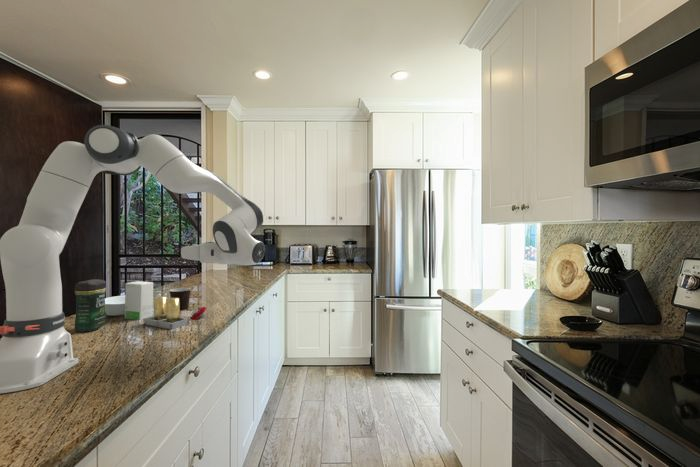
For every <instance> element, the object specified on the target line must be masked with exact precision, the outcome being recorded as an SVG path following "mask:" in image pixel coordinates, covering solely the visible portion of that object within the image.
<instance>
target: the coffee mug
mask: <svg viewBox="0 0 700 467" xmlns="http://www.w3.org/2000/svg"><path fill="white" fill-rule="evenodd" d="M191 290H192V289H191V288H190V287H181V288H180V287H179V288H178V287H177V288H172V289H170V290H169V298H179V304H180V311H188V310H189V307H190V300H191V298H190V297H191Z"/></svg>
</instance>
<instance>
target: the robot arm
mask: <svg viewBox="0 0 700 467" xmlns="http://www.w3.org/2000/svg"><path fill="white" fill-rule="evenodd" d="M141 168H144V169H145V170H146V171H147V172H149V173H150V174H151V175H152V176H153V177H154V178H155V180H157V181H158V182H159V184H161V185H162V186H163V187H164V188H165V189H167V190H168V191H170V192H172V193H175V194H182V195H183V194H185V195H186V194H193V193H209V194H211V195H213V196H215V197H216V198H218V199H219V200H220V201H221V202H223V203H224V204H225V205H226V206H227V207H229V208H230V209H231V211H230V212H227V213H226V214H225V215H223V216H222V217H220V218H219V219H217V220H216V221H215V222H214V223H213V224H212V237H213V239H214V240H211V241H207V242H201V243H200V244H196V245H187V246H183V247H181V248H180V257H181V258H182V259H184V260H191V261H199V262H200V263H201V264H202V263H203V264H209V263H210V264H217V265H226V266H227V265H230V266H231V265H236V266H254V265H258V264H259V263H260V262H261V261H262V259H264V256H265V253H266V246H265V244H264V242H262V241H261V240H257V239H256V238H254V236H252V235H251V234H252V233H253V232H255V231H256V230H258V229H259V228H261V227H262V226H263V223H264V215H263V211H262V209H261V208H260V207H259V206H258V205H257V204H256V203H254V202H253V201H251V200H249V199H248V198H246V197H245V196H243V195H242V194H240V192H238V191H237V190H236V189H235V188H234V187H232V186H231V185H230V184H229V183H227V182H226V181H225V179H222V177H220V176H219V175H218V174H216V173H215V172H213V171H212V170H209V169H206V168H203V167H201V166H199V165H197V164H196V163H194V161H191V160H190V159H189V158H188V157H187V156H186V155H185V154H184V153H183V152H182V151H181V150H180V149H178V147H176V146H175V145H174V144H173V143H171V141H169V140H167V139H166V138H165V137H164V136H162V135H159V134H154V133H153V134H152V133H151V134H148V135H145V136H144V137H142V138H139V139H138V137H137V136H136V135H135V134H134V133H132V132H128V131H125V130H123V129H121V128H119V127H115V126H112V125H108V124H98V125H94V126H92V127H91V128H89V130H88V131H87V132H86V133H85V136H84V142H83V143H81V142H78V141H74V140H73V141H70V140H67V141H62V142H61V143H60V144H58V145H57V146H56V148H55V149H54V150H53V151H52V152H51V154H50V155H49V157H48V158H47V160H46V161H45V162H44V165H42V168H41V170H40V171H39V174H38V176H37V178H36V180H35V182H34V183H33V186H32V188H31V190H30V191H29V194H28V196H27V197H26V203H25V206H24V209H23V213H22V215H21V218H20V220H19V223H18V225H17V226H14V227H11V228H10V229H8V230H7V231H5V232H4V234H3V235H2V236H1V237H0V266H1V271H2V276H3V281H4V287H5V300H6V301H5V306H6V310H5V311H6V314H5V316H6V319H5V320H4V321H3V322H4V323H3V325H0V335H1V336H2V337H1V338H0V394H7V393H14V392H20V391H24V390H28V389H33V388H37V387H39V386H43V385H44V384H46V383H47V382H49V381H51V380H53V379H55V377H57V376H59V375H61V374H62V373H64V372H66V371H67V370H69V369H71V368H72V367H74V366H76V365H77V364H79V363H80V360H79V358H78V357H74V354H73V342H72V335H71V333H70V332H68V331H67V330H66V329H65V327H64V326H65V324H66V322H65V320H66V316H65V312H64V311H63V285H62V284H63V283H62V276H61V267H60V255H61V253H62V252H63V250H64V247H65V245H66V243H67V240H68V237H69V235H70V233H71V231H72V229H73V226H74V224H75V221H76V218H77V216H78V213H79V211H80V209H81V206H82V204H83V202H84V200H85V198H86V195H87V194H88V191H89V190H90V188H91V185H92V183H93V180H94V178H95V177H96V175H98V174H99V173H100V172H101V173H103V174H105V175H118V176H132V175H134V174H136V173H138V172H139V171H140V170H141Z"/></svg>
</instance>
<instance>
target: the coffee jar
mask: <svg viewBox="0 0 700 467" xmlns="http://www.w3.org/2000/svg"><path fill="white" fill-rule="evenodd" d="M106 291H107V282H106V280H104V279H99V278H95V279H93V278H92V279H87V280H85V281H79V282H77V283H76V284H75V287H74V294H75V299H76V302H75V303H76V306H75V320H74V331H76V332H80V333H85V332H90V331H92V332H93V331H97V330H99V329H101V328H102V327H103V326H105V325H107V315H106V311H105V298H106Z"/></svg>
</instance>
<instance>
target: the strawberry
mask: <svg viewBox="0 0 700 467" xmlns="http://www.w3.org/2000/svg"><path fill="white" fill-rule="evenodd" d="M206 310H207V306H201V307H199V308H198V309H196V310H195V312H193V314H192V316H191V319H192V320H198V319H199V318H201V319H202V318H207V316H206V315H205V314H204V313H205V312H206Z"/></svg>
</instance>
